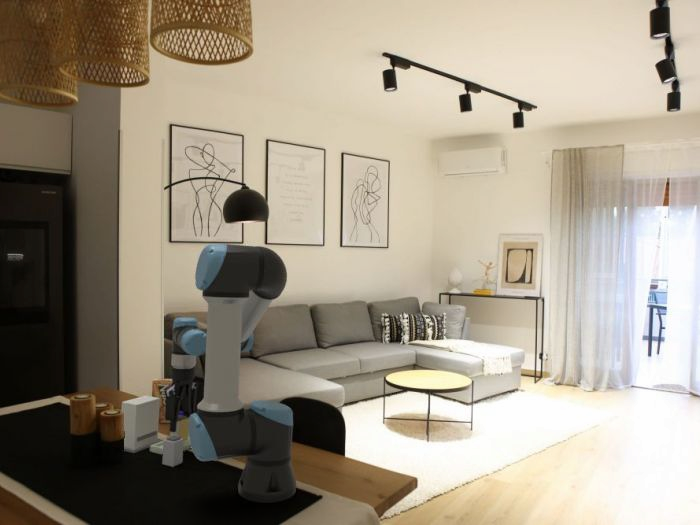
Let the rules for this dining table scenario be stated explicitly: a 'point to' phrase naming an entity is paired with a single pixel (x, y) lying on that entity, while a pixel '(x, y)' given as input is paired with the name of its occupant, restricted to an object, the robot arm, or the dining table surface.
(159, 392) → the candy box
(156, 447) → the tray
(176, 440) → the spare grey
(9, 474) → the dining table surface
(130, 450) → the block
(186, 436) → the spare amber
